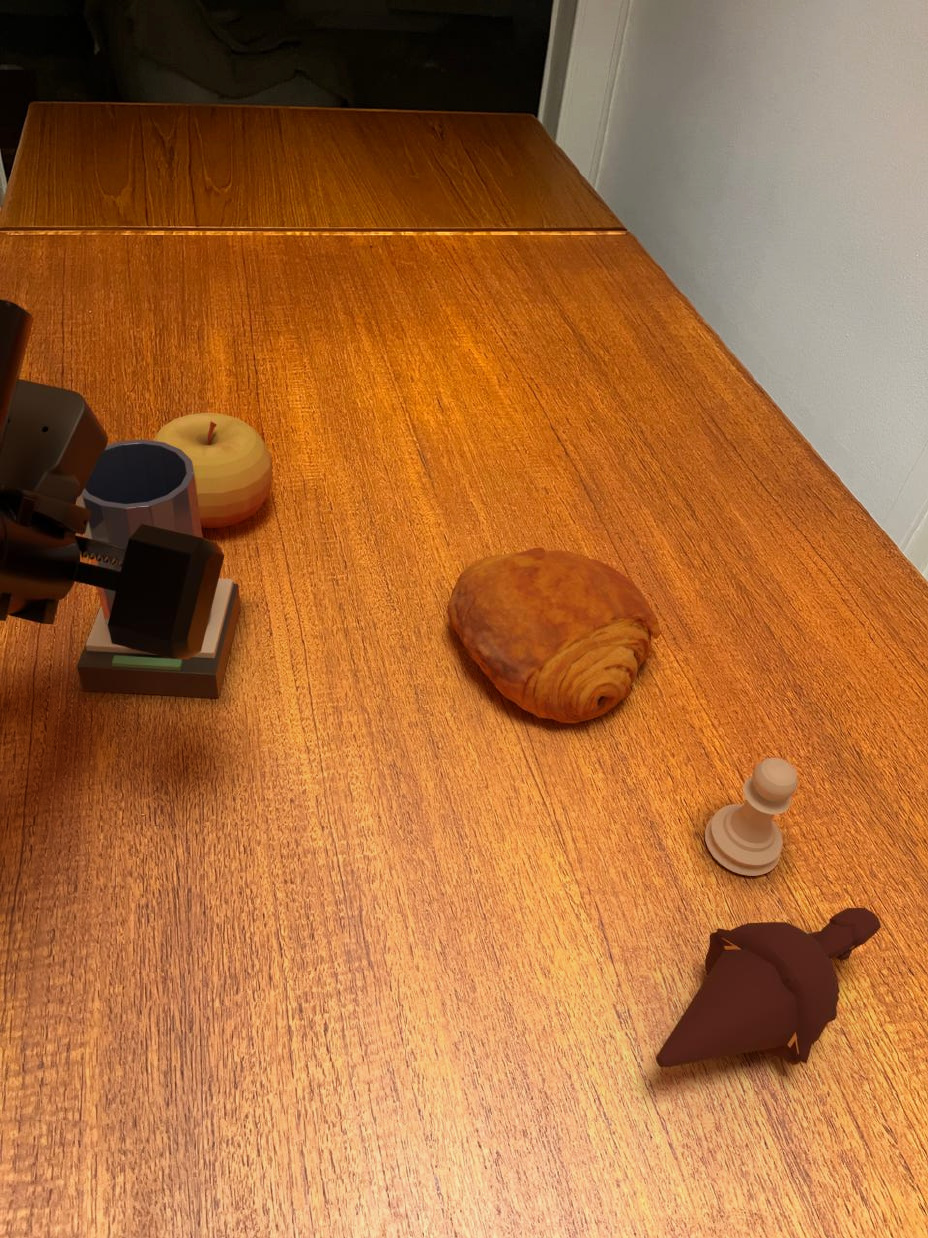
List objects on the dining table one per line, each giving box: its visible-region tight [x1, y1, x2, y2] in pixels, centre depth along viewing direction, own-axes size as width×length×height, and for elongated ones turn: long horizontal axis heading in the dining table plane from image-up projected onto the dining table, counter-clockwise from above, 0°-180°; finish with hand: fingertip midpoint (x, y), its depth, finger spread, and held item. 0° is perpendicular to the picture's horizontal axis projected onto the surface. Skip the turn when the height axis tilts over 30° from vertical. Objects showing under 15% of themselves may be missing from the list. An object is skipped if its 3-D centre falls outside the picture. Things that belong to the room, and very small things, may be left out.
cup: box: [76, 439, 212, 652], centre depth 62 cm, size 7×7×12 cm
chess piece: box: [704, 757, 799, 877], centre depth 58 cm, size 5×5×8 cm
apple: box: [152, 412, 274, 529], centre depth 77 cm, size 10×10×8 cm
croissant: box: [446, 547, 661, 724], centre depth 69 cm, size 14×16×8 cm
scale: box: [76, 577, 242, 699], centre depth 67 cm, size 9×9×3 cm
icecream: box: [655, 907, 882, 1069], centre depth 50 cm, size 7×7×15 cm
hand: (111, 575), depth 58 cm, fingers open, 9 cm apart
